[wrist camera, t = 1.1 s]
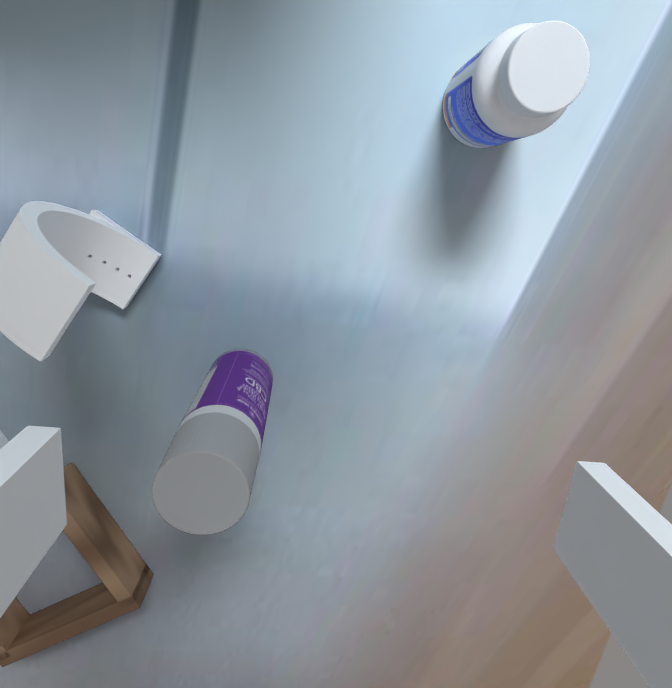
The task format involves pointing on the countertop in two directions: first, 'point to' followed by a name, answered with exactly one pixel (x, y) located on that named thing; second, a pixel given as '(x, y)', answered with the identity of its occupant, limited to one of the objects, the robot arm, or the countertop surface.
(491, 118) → the pill bottle
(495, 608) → the countertop surface
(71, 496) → the bay
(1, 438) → the matte white cube
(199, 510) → the container
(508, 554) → the countertop surface
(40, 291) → the headphone stand
